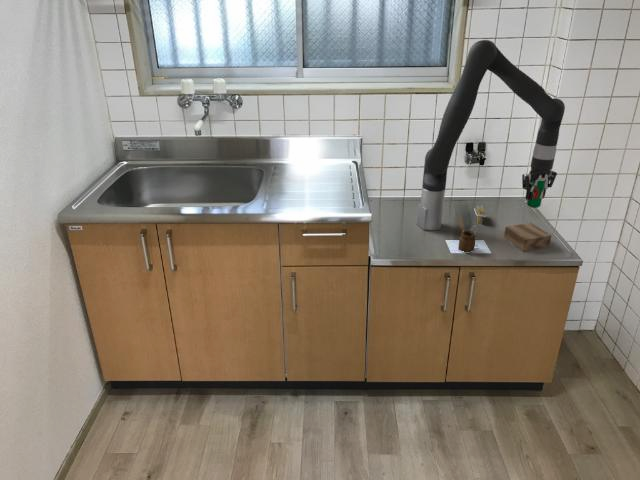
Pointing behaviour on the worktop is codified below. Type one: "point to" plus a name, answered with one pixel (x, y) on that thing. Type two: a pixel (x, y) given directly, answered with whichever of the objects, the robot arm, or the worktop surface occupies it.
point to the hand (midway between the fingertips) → (534, 198)
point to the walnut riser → (527, 236)
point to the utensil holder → (467, 240)
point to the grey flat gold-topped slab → (480, 213)
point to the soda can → (537, 193)
